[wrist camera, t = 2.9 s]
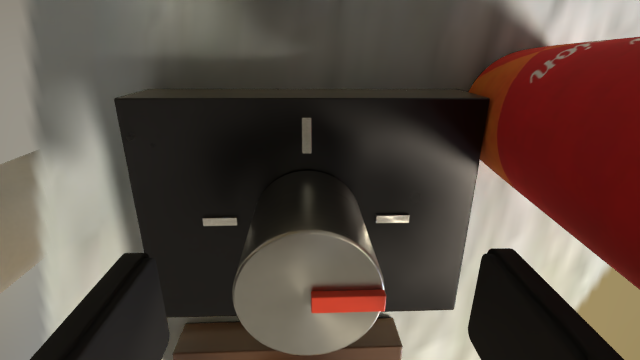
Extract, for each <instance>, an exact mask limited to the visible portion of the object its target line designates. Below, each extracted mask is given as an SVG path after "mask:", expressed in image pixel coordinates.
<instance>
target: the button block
mask: <svg viewBox="0 0 640 360" xmlns="http://www.w3.org/2000/svg"><path fill="white" fill-rule="evenodd" d="M401 355H402V344H401V341H400V338H399V335H398V332H397V329H396V326H395V322H394V319H393V318H377V320H376V321H375V323H374V324H373V326H372V327H371V328H370V329H369V330H368V331H367V332H366V333H365V334H364V335H363V336H362V337H361V338H360V339H358V340H357V341H355V342H354V343H352V344H350V345H348V346H347V347H345V348H342V349H340V350H337V351H334V352H331V353H327V354H321V355H312V356H300V355H292V354H287V353H283V352H280V351H277V350H274V349H272V348H270V347H267V346H266V345H264V344H262V343H261V342H259V341H258V340H256V339H255V338H254V337H253V336H252V335H251V334H250V333H249V332H248V331H247V330H246V329H245V328H244V326H243V325H242V324H241V322H219V323H186V324H185V326H184V328H183V331H182V333H181V335H180V338H179V340H178V342H177V345H176V347H175V349H174V352H173V359H174V360H401Z"/></svg>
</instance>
